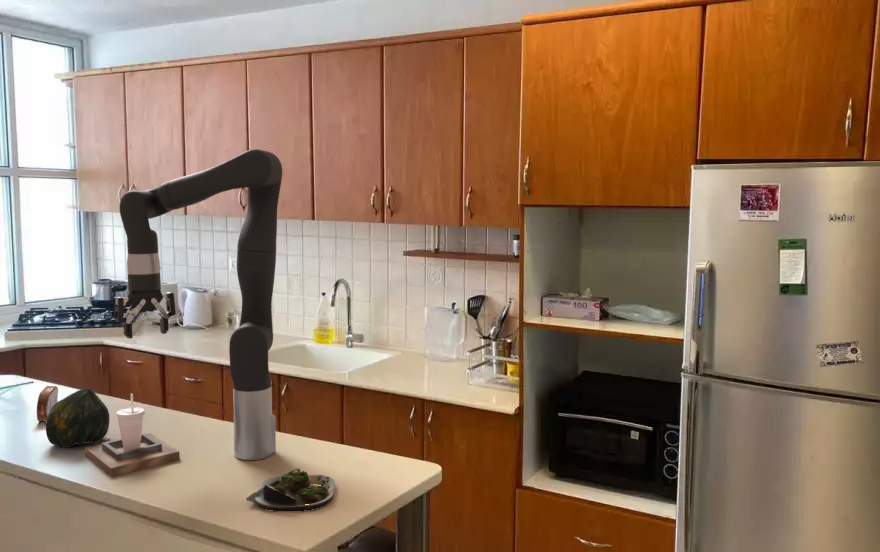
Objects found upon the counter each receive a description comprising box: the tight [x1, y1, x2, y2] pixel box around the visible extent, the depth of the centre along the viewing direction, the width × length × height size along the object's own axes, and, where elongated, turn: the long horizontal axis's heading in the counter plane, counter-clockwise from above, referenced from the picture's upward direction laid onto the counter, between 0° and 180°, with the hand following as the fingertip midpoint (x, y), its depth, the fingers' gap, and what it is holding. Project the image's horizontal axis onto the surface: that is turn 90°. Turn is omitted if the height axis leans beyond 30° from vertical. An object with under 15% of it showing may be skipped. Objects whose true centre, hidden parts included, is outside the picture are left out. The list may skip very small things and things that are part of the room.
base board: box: [84, 432, 181, 477], centre depth 169 cm, size 16×18×4 cm
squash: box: [45, 387, 110, 448], centre depth 179 cm, size 14×15×15 cm
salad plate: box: [245, 468, 336, 512], centre depth 150 cm, size 19×18×5 cm
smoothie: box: [115, 393, 146, 451], centre depth 169 cm, size 6×6×14 cm
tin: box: [36, 385, 59, 422], centre depth 200 cm, size 15×3×8 cm, turn 17°
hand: (146, 335), depth 173 cm, fingers open, 8 cm apart
